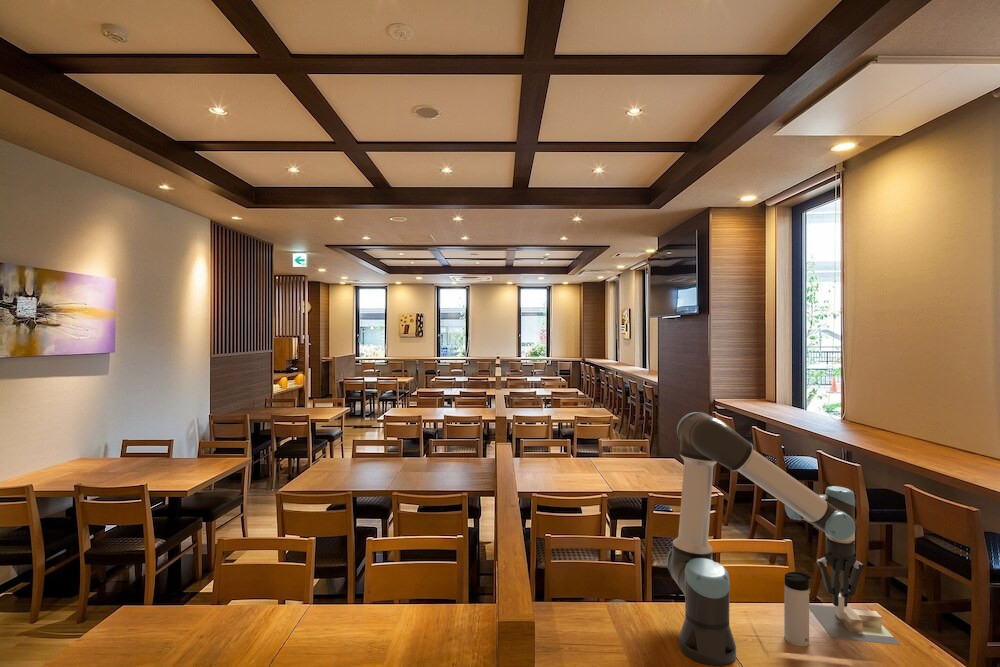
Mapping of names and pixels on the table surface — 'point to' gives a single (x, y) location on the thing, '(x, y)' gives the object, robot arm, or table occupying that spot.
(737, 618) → the table surface
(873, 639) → the mat
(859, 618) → the T block
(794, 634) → the travel mug
